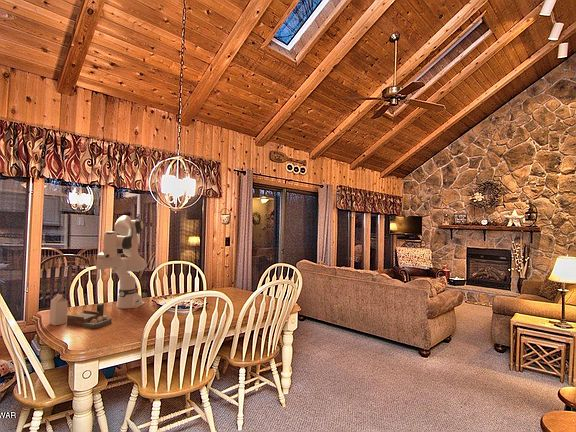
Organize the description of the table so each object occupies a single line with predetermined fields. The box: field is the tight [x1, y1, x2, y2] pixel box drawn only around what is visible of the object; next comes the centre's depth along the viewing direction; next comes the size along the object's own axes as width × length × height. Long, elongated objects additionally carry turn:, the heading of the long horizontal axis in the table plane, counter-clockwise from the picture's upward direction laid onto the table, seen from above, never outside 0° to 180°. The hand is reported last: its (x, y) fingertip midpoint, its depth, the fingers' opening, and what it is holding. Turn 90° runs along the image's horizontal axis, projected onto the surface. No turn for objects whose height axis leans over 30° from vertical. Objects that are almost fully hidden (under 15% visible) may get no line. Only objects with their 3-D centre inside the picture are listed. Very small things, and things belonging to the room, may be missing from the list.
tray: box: [81, 317, 112, 330], centre depth 225 cm, size 14×10×3 cm
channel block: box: [66, 309, 99, 328], centre depth 228 cm, size 14×12×6 cm
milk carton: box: [49, 293, 69, 326], centre depth 226 cm, size 7×7×19 cm
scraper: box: [96, 303, 108, 318], centre depth 240 cm, size 10×3×10 cm, turn 76°
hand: (108, 274), depth 240 cm, fingers open, 8 cm apart
